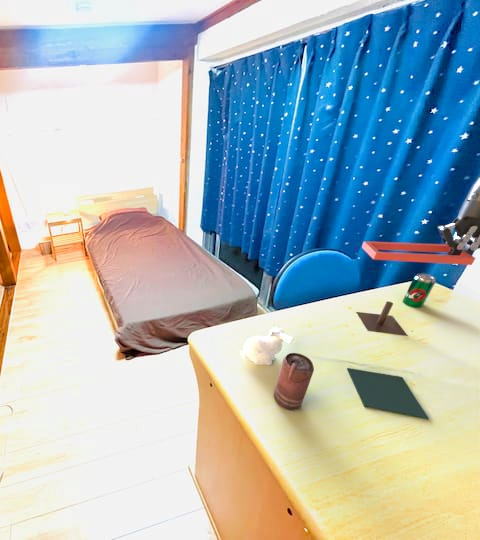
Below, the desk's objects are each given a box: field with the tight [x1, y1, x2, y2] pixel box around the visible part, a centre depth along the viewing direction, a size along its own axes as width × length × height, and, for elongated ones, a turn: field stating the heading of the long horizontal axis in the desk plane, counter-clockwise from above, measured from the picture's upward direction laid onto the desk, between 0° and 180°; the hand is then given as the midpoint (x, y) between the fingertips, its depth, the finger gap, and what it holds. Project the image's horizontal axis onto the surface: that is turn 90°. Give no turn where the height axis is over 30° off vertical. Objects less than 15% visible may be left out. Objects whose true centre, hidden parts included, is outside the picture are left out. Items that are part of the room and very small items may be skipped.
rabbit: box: [239, 327, 294, 366], centre depth 79 cm, size 12×9×12 cm
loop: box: [361, 240, 476, 266], centre depth 77 cm, size 8×20×2 cm, turn 71°
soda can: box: [402, 273, 437, 309], centre depth 94 cm, size 5×5×12 cm
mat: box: [346, 367, 430, 420], centre depth 70 cm, size 12×12×1 cm
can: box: [273, 352, 315, 412], centre depth 67 cm, size 6×6×14 cm
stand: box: [355, 301, 409, 337], centre depth 88 cm, size 10×10×9 cm
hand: (455, 260), depth 75 cm, fingers closed on loop, 1 cm apart
